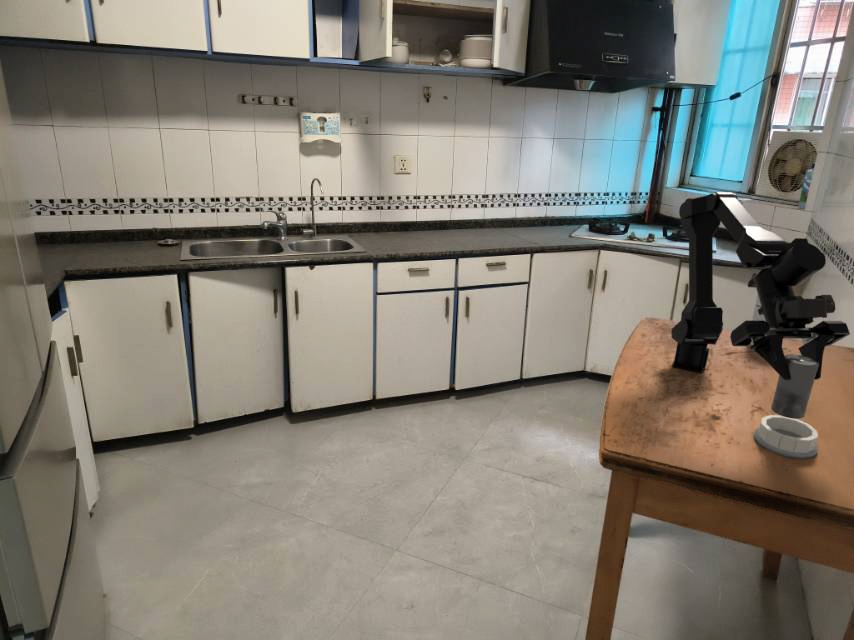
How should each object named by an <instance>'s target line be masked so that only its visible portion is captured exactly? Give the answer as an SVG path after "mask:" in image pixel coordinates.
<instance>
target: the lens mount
mask: <svg viewBox="0 0 854 640" xmlns="http://www.w3.org/2000/svg"><path fill="white" fill-rule="evenodd" d="M753 437H754V438H753V439H754V441H756V443H757V444H759V445H760V446H761V447H762V448H763V449H766V450H768V451H769V452H772V453H774V454H777V455H781V456H784V457H788V458H793V459H811V458H814V457H815V456H816V455H817V453H818V450H819V445H818V444H817V441H818V437H819V435H818V430H817V429H815V428H814V427H813V426H812V425H810V424H809V423H806V422H805V421H802V420H800V419H792V418H787V417H784V416H781V415H778V414H776V415H775V414H772V415H771V414H770V415H769V414H768V415H766V416H763V417H761V419H760V424H759V426H758V427H757V428H756V429H755V431H754V435H753Z"/></svg>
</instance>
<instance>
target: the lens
mask: <svg viewBox="0 0 854 640" xmlns="http://www.w3.org/2000/svg"><path fill="white" fill-rule="evenodd" d="M784 356H785V359H786V363H787V366H788V370H789V376H790V378H789V379H787V380H784V379H783V378H782V377H781V376H780V375H779V374H778V375H779V376H778V379H777V383H776V386H775V391H774V395H773V399H772V403H771V407H770V409H771V411H772V412H773V413H775V414H776V415H781V416H784V417H787V418H792V419H798V420H800V419H804V417H805V416H806V413H807V412H806V411H807V408H808V405H809V401H810V397H811V395H812V391H813V387H814V382H815V376H816V373H817V369H818V366H819V363H818V362H817V361H816V360H814V359H812V358H809V357H806V356H802V355H801V354H795V353H793V354H784Z"/></svg>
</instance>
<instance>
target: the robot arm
mask: <svg viewBox="0 0 854 640" xmlns="http://www.w3.org/2000/svg"><path fill="white" fill-rule="evenodd" d="M678 210H679V211H678V213H679V217H680V226H681V228H682V230H683V232H684V233H685V234H686V236H687V237H688V301H687V303H686V305H685V307H684V308H683V309H682V311H681V315H680V316H681V317H680V321H679V322H678V323H676V324H675V325H674V326H673V327H672V328H671V339H673V340H674V341H675V342H676V343H677V344H676V348H675V349H676V350H675V355H674V360H673V362H672V366H671V367H673V368H678V369H683V370H687V371H692V372H697V373H703V370H704V369H706V367H707V364H708V360H709V355H710V350H711V349H710V348H709V347H708V346H709V345H716V344H717V342H718V340H719V338H720V337H721V336H720V335H721V334H722V333H723V329H724V328H723V327H724V321H723V313H724V311H723V309H722V307H721V306H720V307H719V306H717V304H716V303H715V302H714V298H713V297H714V294H713V293H714V291H713V290H714V287H713V286H714V285H713V283H714V281H713V280H714V277H713V275H714V274H713V272H714V271H713V270H714V269H713V268H714V267H713V266H714V263H713V261H714V258H713V256H714V255H713V254H714V252H713V251H714V250H713V248H714V247H713V241H714V240H713V239H714V238H713V237H714V235H715V233H716V232H717V230H718V228H719V227H720V225H721V224H722V225H723V226H724V228H725V229H726V230H727V231H728V233H729V234H730V236H731V237H732V238H733V239H734V241H735V242H736V244H737V245H736V250H735V253H736V255H737V257H738V259H739V261H740V263H741V264H742V266H743V267H744V268H746V269H761V270H760V271H758V272H757V273H755V272H754V273H752V276H751V278H750V280H749V281H748V282H747V287H748V288H755V289H756V293H757V294H758V296H759V300H760V303H761V306H762V307H761V308H760V309H758V313H759V315H764V317H765V320H766V321H752V320H744V321H743V322H741V323H740V324H739V325H738V326H737V327H736V328H734V329H733V330H731V332H730V336H729V337H730V342H731V345H732V346H733V347H748V346H749V350H750V351H754V352H756V353H757V354H758V355H759V356H760V357H761V358H762V359H764V360H765V361H766V362H767V363H768V364H769V365H770V366H771V367H772V369H773V370H774V371H775V372H776V373H777V374H778V375H780V376H781V377H782V378H783V379H784V380H787V379H789V378H790V376H789V370H788V366H787V363H786V359H785V353H784V350H783V342H784V339H801V342H802V345H801V346H800V347H798V348H797V349H798V350H799V353H800V355H802V356H806V357H809V358H812V359H814V360H816V361H817V362H818V363H819V366H818V369H817V373H816V376H815V380H820V379H821V378H822V377H821V376H822V367H823V359H824V357H823V356H824V353H825V349H826V347H830V346H832V345H834V344H835V343H837V342H839V341H841V340H843V339H844V338H846V337H848V336H850V335H851V333H850V329H849V328H848V324H847V323H846V322H844V321H842V320H822V321H820V322H818V324H815V325H814V326H812V327H806V325H810V324H812V323H814V319H817V318H818V319H819V318H822V319H827V318H828V314H832V313H835V311H836V302H835V300H834V299H833V298H834V297H833V296H832V294H821V295H816V296H815V297H814V298H804V297H803V296H802V295H801V296H800V295H799V296H798V295H797V294H796V292H795V289H794V287H796V286H800V285H801V284H803V283H805V282H806V281H807V280H808V279H810V278H811V277H813V276H814V275H815V274H817V273H818V272H820V271H821V270H823V268H824V267H825V266H826V262H827V261H826V260H827V259H826V255H825V253H824V252H822V251H821V250H820V249H819V248H818V247H817V246H815V245H813V244H812V243H809V241H808V238H807V237H795V238H794V239H792V241H791V242H790V243H789V244H787V243H786V241H785V239H783V238H781V237H780V236H779V235H778V234H776V233H775V232H772V231H770V230H767V229H764V228H762V227H761V226H760V225H759V224H758V222H757V221H756V220H755V219H754V217H752V216H751V214H750V213H749V212H748V210H747V209H746V208H745V207H744V206H743V205H742V203H741V202H740V201H739V199H738V195H737V194H736V193H734V192H722V191H721V192H719V191H715V192H713V193H709V194H707V195H703V196H700V197H689V198H686V199H685V201H684V202H682V203H681V204H680V205H679V209H678ZM751 338H752V339H753V344H754V345H750V343H751V342H752V340H751ZM815 380H814V381H815Z"/></svg>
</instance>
